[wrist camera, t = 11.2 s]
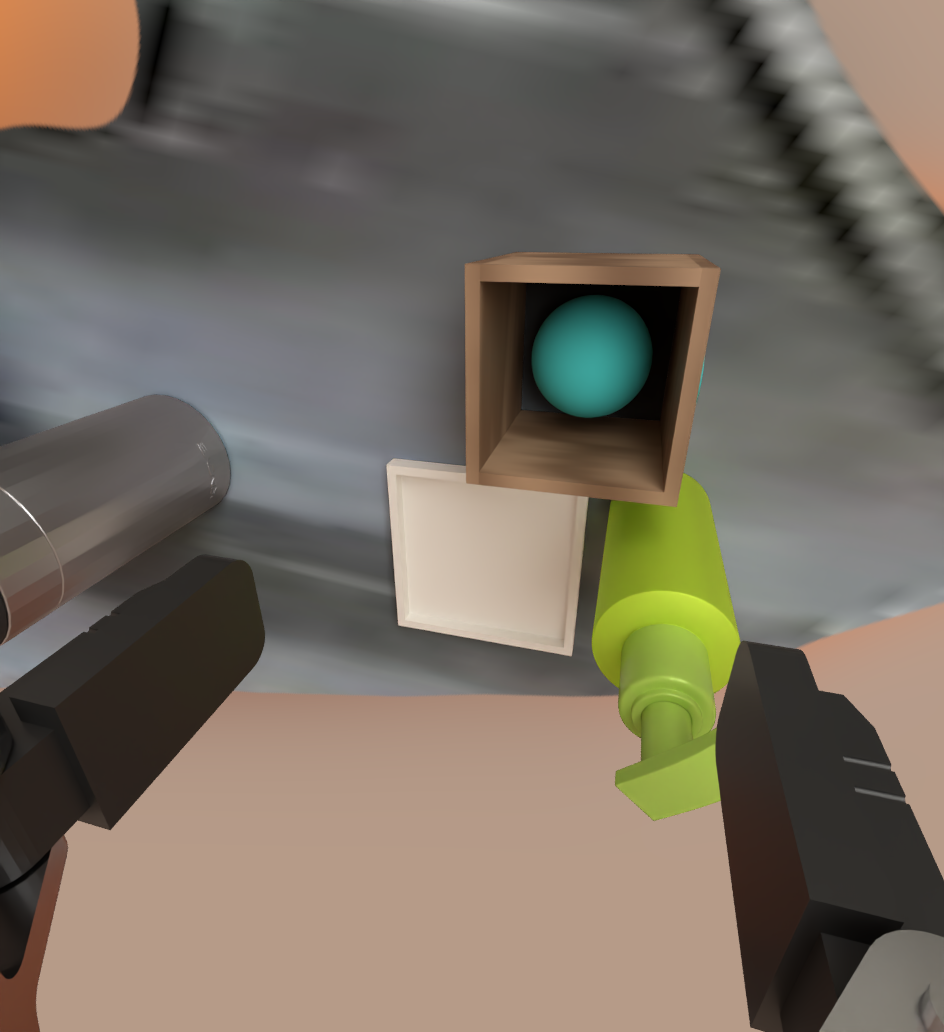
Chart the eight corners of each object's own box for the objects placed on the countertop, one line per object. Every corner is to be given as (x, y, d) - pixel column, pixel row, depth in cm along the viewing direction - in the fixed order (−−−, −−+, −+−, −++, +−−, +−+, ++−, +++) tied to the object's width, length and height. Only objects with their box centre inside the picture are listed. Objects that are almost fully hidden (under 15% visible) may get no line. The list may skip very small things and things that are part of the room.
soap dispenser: (747, 507, 33) (853, 812, 16) (652, 570, 37) (655, 876, 20) (680, 436, 32) (717, 677, 15) (589, 507, 36) (536, 768, 19)
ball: (544, 287, 31) (524, 300, 26) (660, 290, 29) (662, 305, 24) (538, 396, 34) (519, 428, 28) (644, 403, 32) (643, 438, 27)
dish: (404, 615, 44) (398, 625, 43) (393, 458, 38) (386, 464, 37) (573, 645, 41) (571, 656, 40) (590, 479, 35) (589, 486, 34)
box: (511, 418, 35) (466, 483, 26) (516, 252, 30) (464, 264, 22) (675, 432, 32) (685, 508, 24) (706, 254, 28) (731, 268, 20)
